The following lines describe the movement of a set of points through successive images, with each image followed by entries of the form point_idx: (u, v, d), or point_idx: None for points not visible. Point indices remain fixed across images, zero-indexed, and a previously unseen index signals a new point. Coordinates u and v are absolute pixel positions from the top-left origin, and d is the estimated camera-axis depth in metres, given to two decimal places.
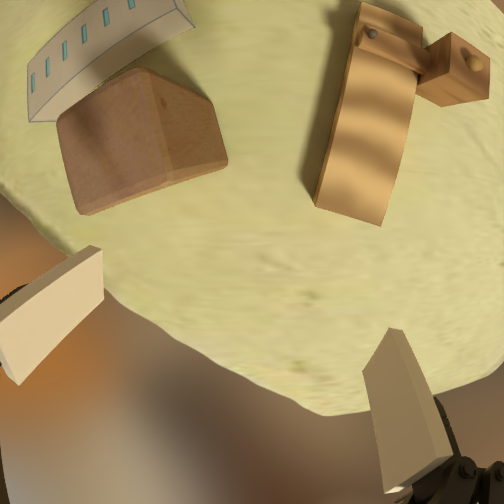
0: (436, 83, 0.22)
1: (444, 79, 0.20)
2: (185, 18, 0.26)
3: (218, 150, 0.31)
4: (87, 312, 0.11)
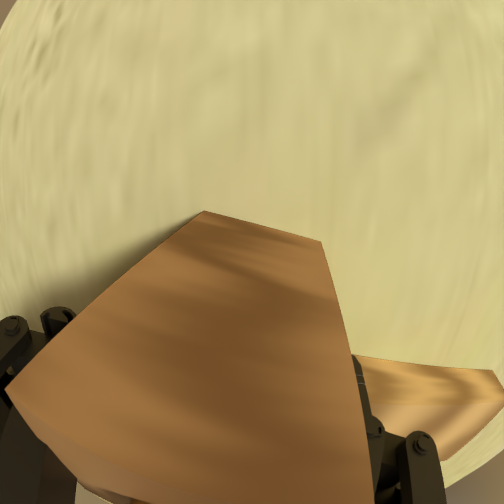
0: None
1: None
2: None
3: None
4: None
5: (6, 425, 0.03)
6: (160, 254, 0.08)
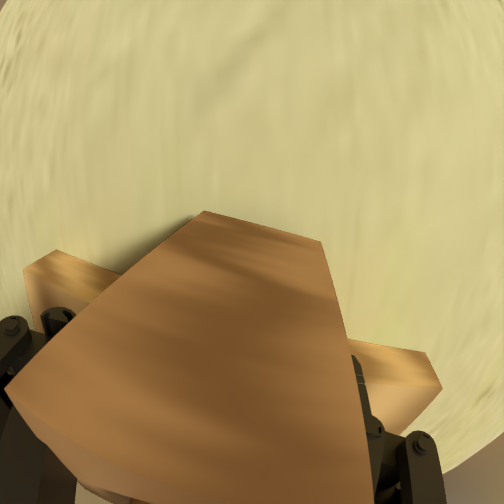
0: None
1: None
2: None
3: None
4: None
5: (6, 425, 0.03)
6: (160, 254, 0.08)
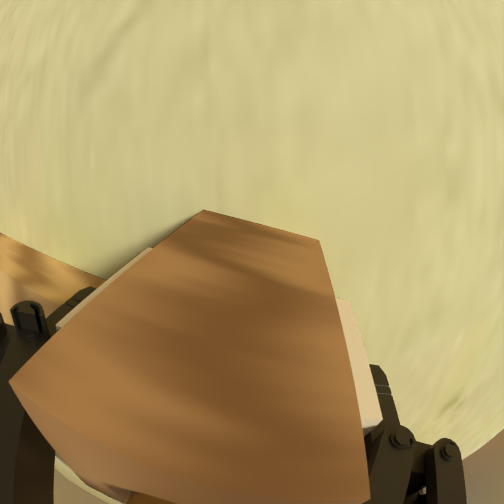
0: None
1: None
2: None
3: None
4: None
5: None
6: (161, 252, 0.08)
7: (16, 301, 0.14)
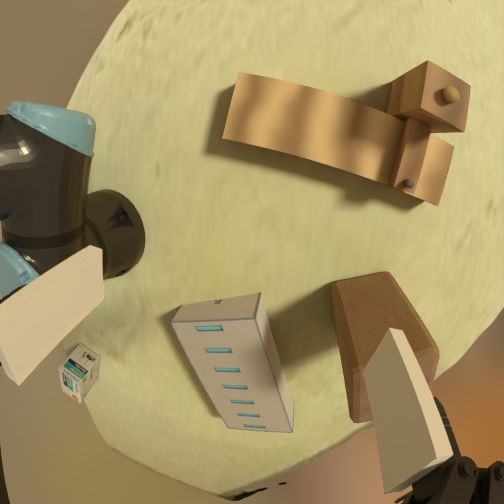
0: None
1: None
2: (258, 306, 0.40)
3: (384, 284, 0.35)
4: (87, 312, 0.11)
5: None
6: None
7: (296, 99, 0.29)
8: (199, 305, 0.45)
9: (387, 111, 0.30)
